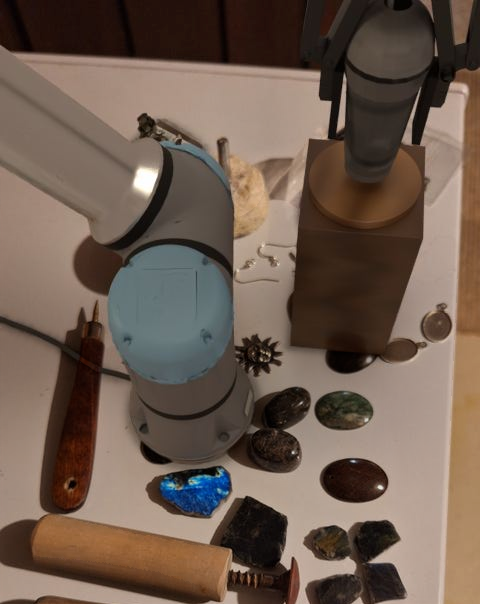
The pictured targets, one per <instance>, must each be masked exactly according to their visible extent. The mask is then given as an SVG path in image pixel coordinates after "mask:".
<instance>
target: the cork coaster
mask: <svg viewBox="0 0 480 604" xmlns="http://www.w3.org/2000/svg"><path fill="white" fill-rule="evenodd" d="M340 141H341V142H338V143H336V144H333V145H332V146H330V147H328V148H327V149H325V150H324V151H323V152H322V153H320V154H319V155H318V157H317V158H316V159H315V161H314V162H313V164H312V166H311V169H310V173H309V185H308V187H309V193H310V196H311V199H312V201H313V203H314V204H315V206H316V207H317V209H318V210H319V211H320V212H321V213H322V214H324V215H325V216H326V217H327V218H329V219H331V220H332V221H334V222H336V223H338V224H341V225H344V226H347V227H351V228H358V229H375V228H381V227H385V226H388V225H391V224H393V223H396V222H397V221H399V220H401V219H402V218H404V217H405V216H406V215H407V214H408V213H409V212H410V211H411V210H412V209H413V207H414V206H415V204H416V202H417V200H418V197H419V193H420V190H421V184H422V183H421V175H420V171H419V169H418V166H417V165H416V163H415V161H414V160H413V159H412V158H411V157H410V156H409V155H408V154H407V153H406V152H405V151H403V150H402V149H401V148H399V150H398V153H397V156H396V159H395V160H394V162H393V165H392V167H391V171H390V173H389V174H388V176H387V177H385V178H384V179H383V180H380V181H378V182H374V183H363V182H359V181H356V180H354V179H353V178H351V177H350V176H349V175H348V174H347V172H346V171H345V167H344V162H345V160H344V140H340Z"/></svg>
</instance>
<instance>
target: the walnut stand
mask: <svg viewBox="0 0 480 604" xmlns="http://www.w3.org/2000/svg"><path fill="white" fill-rule="evenodd" d="M341 141H342V140H338V139H336V140H335V139H321V138H308V142H307V143H308V144H307V150H306V151H307V152H306V159H305V165H304V166H305V167H304V175H303V182H302V183H303V184H302V191H301V196H302V199H301V207H300V215H299V214H298V222H297V223H298V225H297V237H296V247H295V248H296V250H295V252H296V253H295V264H294V265H295V266H294V278H293V291H292V307H291V322H290V323H291V324H290V336H289V337H290V338H289V347H292V348H293V347H294V348H296V347H297V348H304V349H315V350H326V351H336V352H344V353H345V352H347V353H356V354H366V355H377V356H385V354H386V350H387V346H388V344H389V341H390V340H391V339H390V338H391V335H392V332H393V330H394V326H395V324H396V321H397V318H398V314H399V312H400V309H401V307H402V303H403V299H404V297H405V294H406V292H407V288H408V285H409V282H410V279H411V275H412V273H413V271H414V268H415V265H416V261H417V260H418V259H417V258H418V255H419V252H420V250H421V247H422V244H423V241H424V231H425V230H424V229H425V227H424V225H425V186H426V185H425V184H426V182H425V181H426V179H425V178H426V146H425V145H411V144H400V147H399V148H401V149H402V150H403V151H405V152H406V153H407V154H408V155H409V156H410V157H411V158H412V159H413V160H414V161H415V163H416V165H417V166H418V169H419V171H420V175H421V183H422V184H421V190H420V193H419V197H418V200H417V202H416V204H415V206H414V207H413V209H412V210H411V211H410V212H409V213H408V214H407V215H406V216H405V217H404V218H402V219H401V220H399V221H397V222H396V223H393V224H391V225H388V226H385V227H381V228H375V229H358V228H351V227H347V226H344V225H341V224H338V223H336V222H334V221H332V220H331V219H329V218H327V217H326V216H325V215H324V214H322V213H321V212H320V211H319V210H318V209H317V207H316V206H315V204H314V203H313V201H312V199H311V196H310V193H309V187H308V185H309V173H310V169H311V166H312V164H313V162H314V161H315V159H316V158H317V157H318V155H319V154H320V153H322V152H323V151H324V150H325V149H327V148H328V147H330V146H332V145H333V144H336V143H338V142H341Z"/></svg>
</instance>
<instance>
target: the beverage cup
mask: <svg viewBox="0 0 480 604" xmlns="http://www.w3.org/2000/svg"><path fill="white" fill-rule="evenodd" d="M343 56H344V66H345V70H344V77H345V81H346V83H345V109H344V111H345V112H344V135H343V137H344V138H343V141H344V160H345V162H344V167H345V171H346V172H347V174H348V175H349V176H350V177H351V178H353V179H354V180H356V181H359V182H363V183H374V182H378V181H380V180H383V179H384V178H385V177H387V176H388V174H389V173H390V171H391V167H392V165H393V162H394V160H395V159H396V156H397V153H398V150H399V147H400V145H402V143H403V142H402V141H403V139H404V136H405V133H406V130H407V127H408V124H409V122H410V119H411V116H412V113H413V111H414V110H413V109H414V107H415V104H416V101H417V99H418V97H419V94H420V90H421V86H422V84H423V83H424V81H425V78H426V76H427V74H428V72H429V70H430V68H431V66H432V65H433V63H434V58H435V56H436V37H435V29H434V21H433V16H432V14H431V12H430V10H429V9H428V7H427V6H426V4H425V3H424V2H422V0H370V1H369V3H368V5H367V6H366V8H365V10H364V12H363V14H362V16H361V18H360V20H359V22H358V24H357V26H356V28H355V30H354V32H353V34H352V36H351V38H350V39H349V41H348V43H347V45H346V47H345V49H344V51H343Z"/></svg>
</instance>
